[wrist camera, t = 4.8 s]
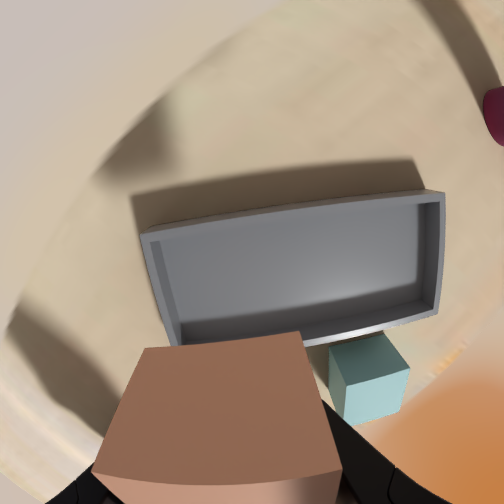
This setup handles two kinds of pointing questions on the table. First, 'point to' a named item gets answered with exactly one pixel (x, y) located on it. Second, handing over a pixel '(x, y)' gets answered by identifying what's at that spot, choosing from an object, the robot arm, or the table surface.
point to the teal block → (366, 379)
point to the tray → (300, 268)
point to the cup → (495, 113)
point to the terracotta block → (222, 427)
